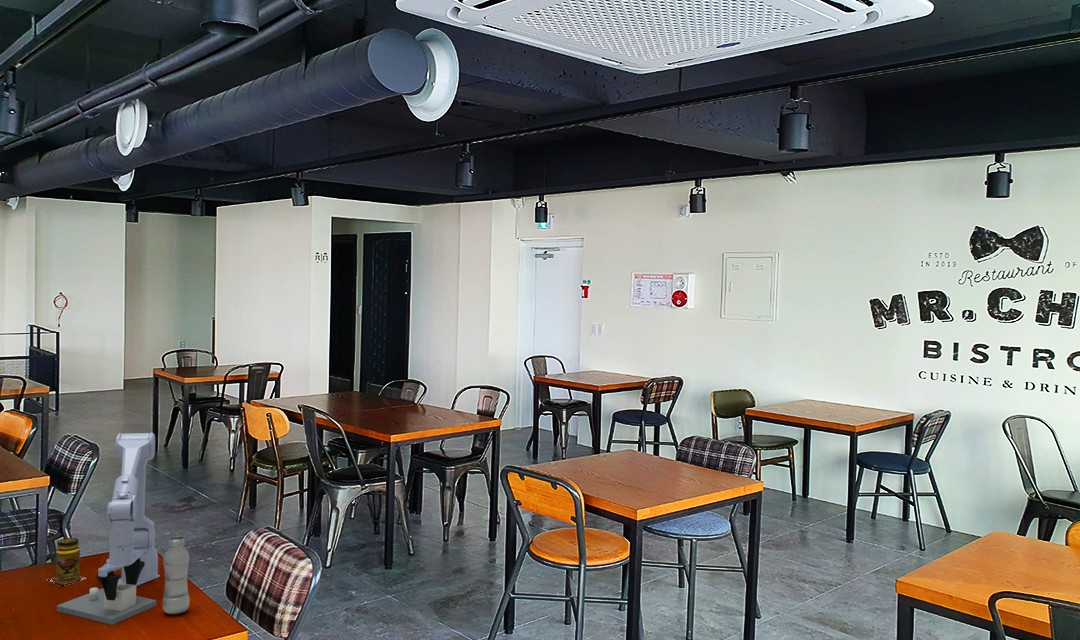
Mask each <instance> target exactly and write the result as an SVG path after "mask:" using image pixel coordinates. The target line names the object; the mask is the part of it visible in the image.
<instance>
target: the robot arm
mask: <svg viewBox="0 0 1080 640" xmlns="http://www.w3.org/2000/svg"><path fill="white" fill-rule="evenodd" d="M114 443H115V446H114V447H115V449H114V450H115V454H116V455H117V456H118V457H117V458H119V460H121V475H120V476H118V477H117V478H116V480H115V483H114V487H113V492H112V498H111V501H108V503H107V504H108V505H107V507H106V509H107V510H106V517H107V522H108V523H107V525H108V526H107V527H108V529H109V558H107V559H106V561H105V562H106V563H105V564H104V565H103V566H102V567H99V568H98V569H97V571H98V573H97V574H96V579H97V580H98V581H99V583H100V585H101V586H102V588H103V589H104V592H105V595H106V599H107V600H112V601H113V600H115V598H116V589H117V584H118V583H123V584H131V585H136V587H138V586H140V585H143V584H144V583H147V582H150V581H153V580H154V579H155V580H156V579H158V578H159V577H161V575H160V574H159V554H158V551H157V549H156V548H155V543H156V531H155V530H156V529H155V523H154V521H153V520H152V519H151V518H148V516H146V515H145V510H146V509H145V508H146V507H145V505H146V476H147V475H146V472H147V471H146V470H147V464H148V461H150V460H153V459H154V457H155V456H156V435H155V433H154V432H145V433H144V432H142V433H141V432H138V433H135V432H134V433H133V432H132V433H122V432H119V433H118V434H117V435H116V437H115V442H114ZM120 569H121V575H120V574H116V573H115V572H116V571H119V570H120ZM120 577H121V578H120Z"/></svg>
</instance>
